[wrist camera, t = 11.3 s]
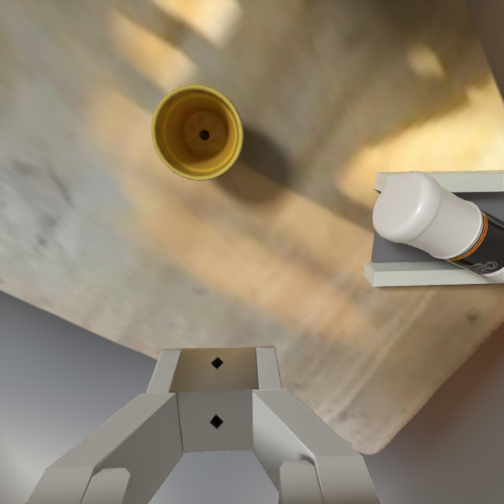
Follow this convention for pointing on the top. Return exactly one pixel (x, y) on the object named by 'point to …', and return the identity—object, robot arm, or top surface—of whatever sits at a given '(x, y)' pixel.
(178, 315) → the top surface
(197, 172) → the plant pot
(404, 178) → the vodka
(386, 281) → the cradle
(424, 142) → the top surface
